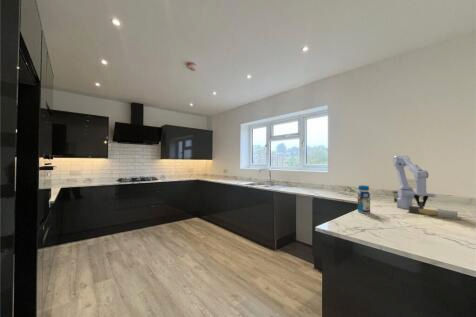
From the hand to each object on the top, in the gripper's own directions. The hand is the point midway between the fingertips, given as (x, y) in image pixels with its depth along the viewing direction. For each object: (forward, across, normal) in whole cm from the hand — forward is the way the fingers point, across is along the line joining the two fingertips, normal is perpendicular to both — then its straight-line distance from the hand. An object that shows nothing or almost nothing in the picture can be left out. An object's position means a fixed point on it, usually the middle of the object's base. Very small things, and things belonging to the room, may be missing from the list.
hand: (421, 206), depth 146 cm
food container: (+7, -20, +48) cm, 53 cm away
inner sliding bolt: (+5, +4, 0) cm, 6 cm away
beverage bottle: (+7, -30, -22) cm, 38 cm away
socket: (+5, -3, 0) cm, 6 cm away
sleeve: (+5, +13, 0) cm, 14 cm away
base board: (+6, +6, 0) cm, 9 cm away
